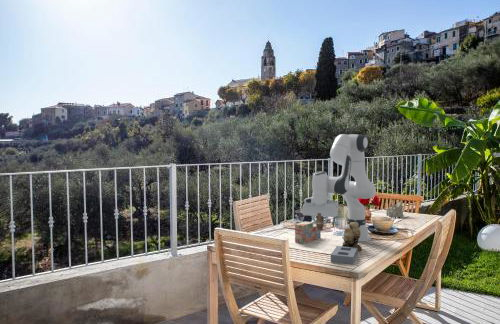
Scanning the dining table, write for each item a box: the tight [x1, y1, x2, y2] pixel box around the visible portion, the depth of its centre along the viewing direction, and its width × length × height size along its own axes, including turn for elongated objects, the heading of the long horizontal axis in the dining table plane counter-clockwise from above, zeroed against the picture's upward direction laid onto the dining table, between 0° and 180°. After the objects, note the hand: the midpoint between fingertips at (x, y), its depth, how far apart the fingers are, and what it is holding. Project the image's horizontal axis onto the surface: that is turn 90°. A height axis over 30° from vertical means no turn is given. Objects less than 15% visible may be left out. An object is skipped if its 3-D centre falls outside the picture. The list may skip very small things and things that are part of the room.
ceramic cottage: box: [385, 200, 405, 217], centre depth 348 cm, size 16×16×15 cm
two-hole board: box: [330, 245, 359, 265], centre depth 223 cm, size 20×12×4 cm, turn 158°
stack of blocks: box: [294, 221, 322, 245], centre depth 265 cm, size 21×6×12 cm, turn 138°
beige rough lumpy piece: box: [341, 222, 363, 253], centre depth 241 cm, size 18×12×17 cm, turn 146°
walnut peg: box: [315, 213, 324, 231], centre depth 228 cm, size 4×4×10 cm
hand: (319, 223), depth 228 cm, fingers closed on walnut peg, 4 cm apart
